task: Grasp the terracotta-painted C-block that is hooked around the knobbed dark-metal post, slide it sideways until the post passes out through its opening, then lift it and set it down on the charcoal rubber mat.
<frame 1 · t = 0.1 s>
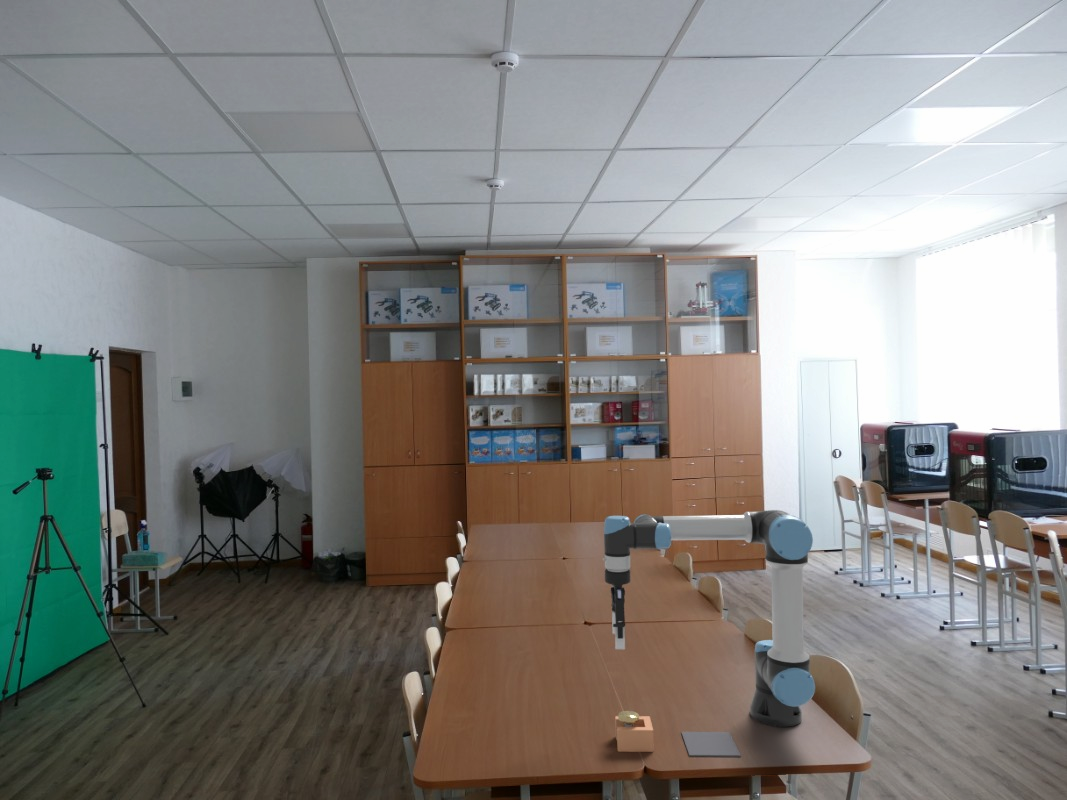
hand: (618, 641, 211), 28 cm above the table, fingers open, 13 cm apart
c link: (634, 744, 205), on the table
mat: (709, 744, 204), on the table
knob post: (629, 743, 205), on the table
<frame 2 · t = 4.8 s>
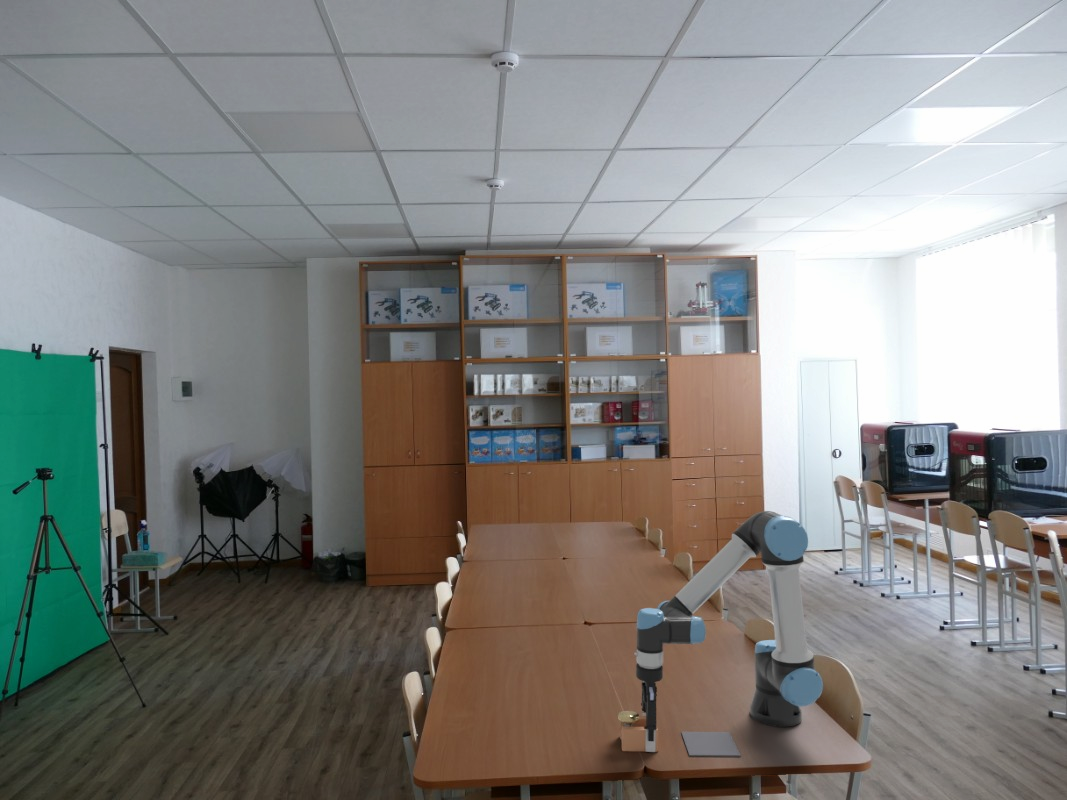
hand: (648, 742, 204), 0 cm above the table, fingers closed on c link, 9 cm apart
c link: (638, 743, 205), on the table, touching gripper
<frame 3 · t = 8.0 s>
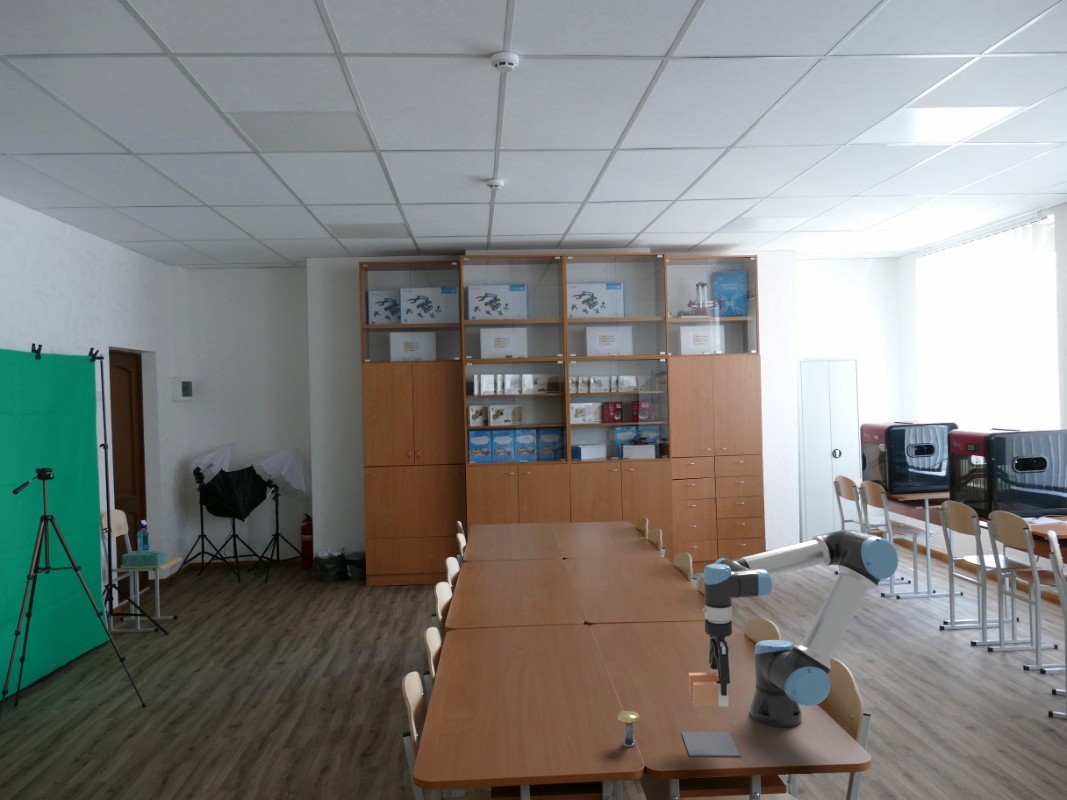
hand: (719, 698, 203), 13 cm above the table, fingers closed on c link, 9 cm apart
c link: (709, 699, 204), point 13 cm above the table, touching gripper
when the fingers open (1 cm above the table, at t = 11.0 s): c link stays where it is, resting on mat.
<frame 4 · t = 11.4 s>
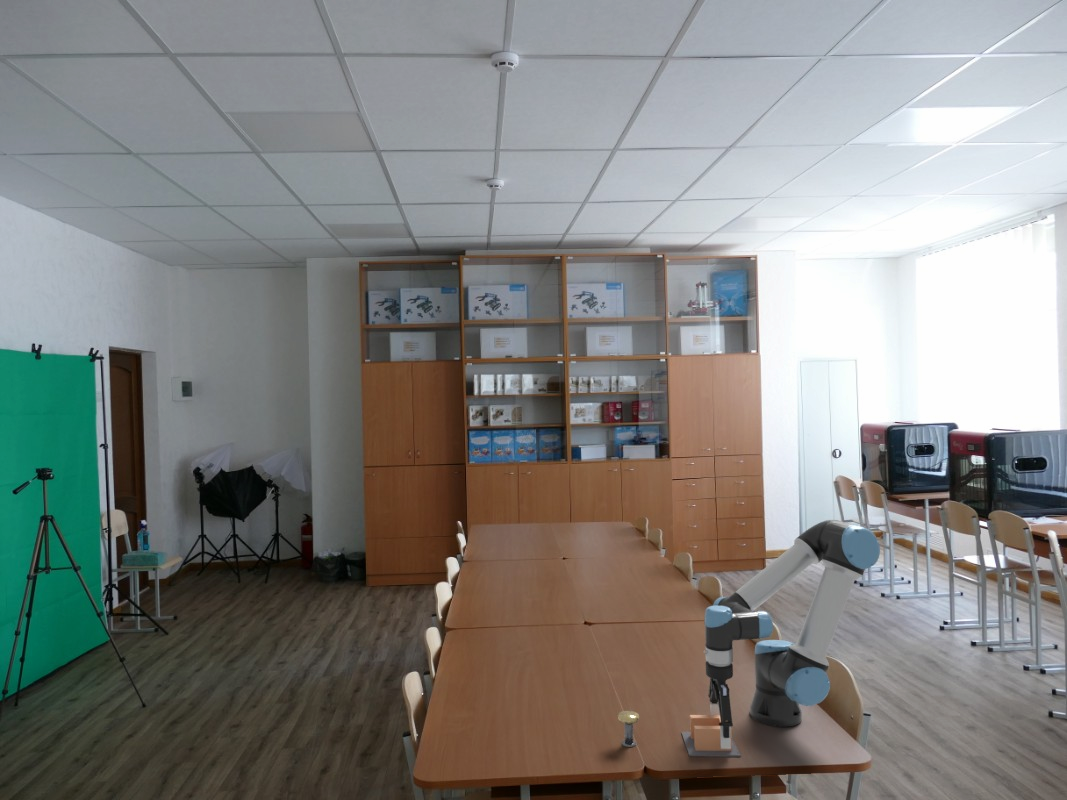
hand: (720, 736, 203), 2 cm above the table, fingers open, 13 cm apart
c link: (710, 743, 204), resting on mat
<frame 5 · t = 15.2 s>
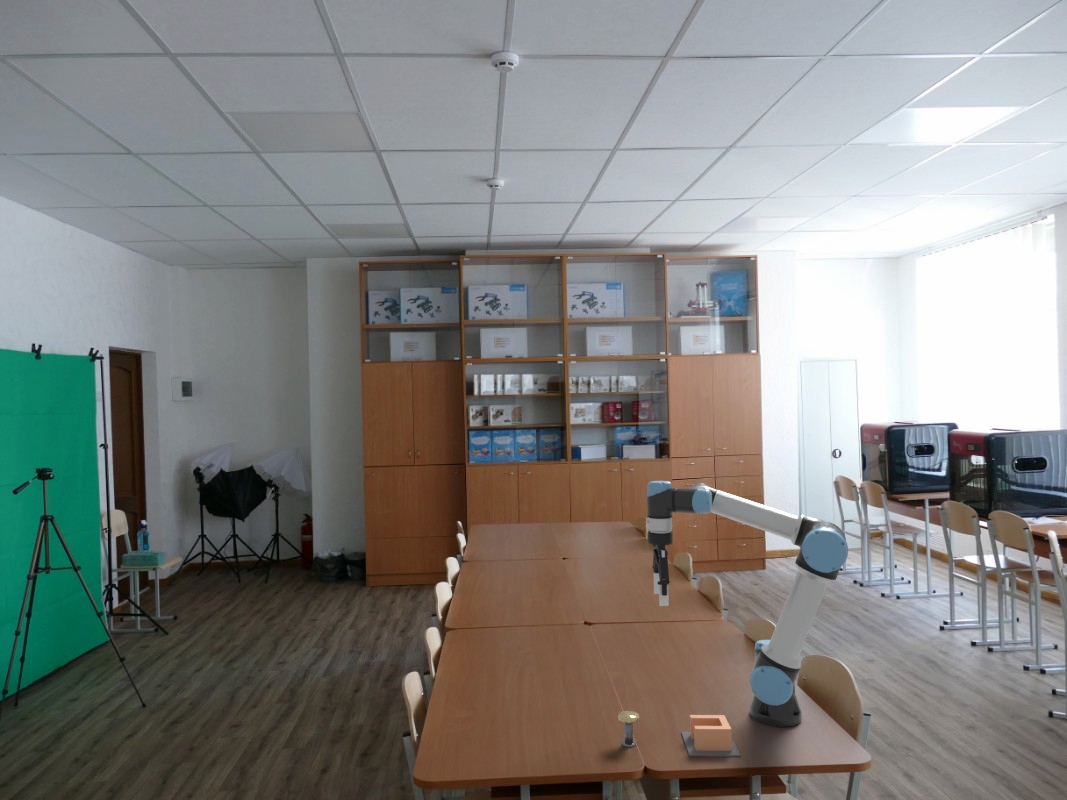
hand: (661, 599, 221), 37 cm above the table, fingers open, 13 cm apart
nothing on the table moved.
at the end: c link inside the target area on the mat (0.2 cm from its centre), point 0.4 cm above the mat's base; c link tilted 0°; the gripper is holding nothing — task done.
